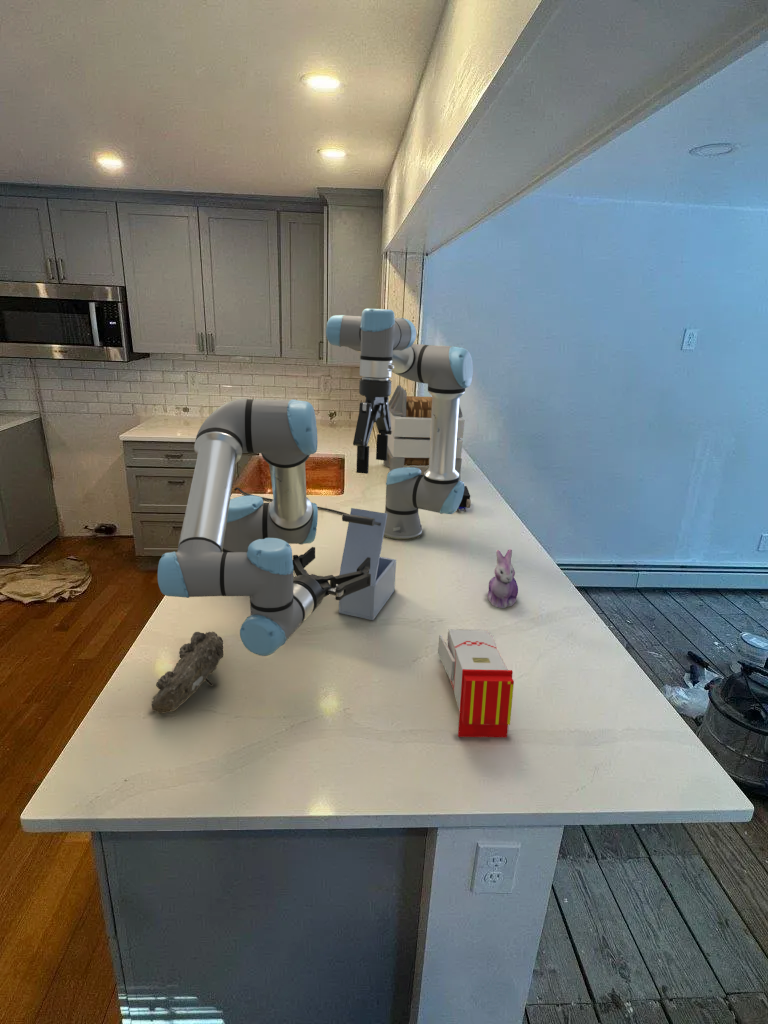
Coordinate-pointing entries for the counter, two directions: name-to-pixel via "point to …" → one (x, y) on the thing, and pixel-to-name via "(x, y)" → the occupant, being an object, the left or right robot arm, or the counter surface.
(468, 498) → the figurine character
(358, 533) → the door
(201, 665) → the fossil
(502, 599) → the figurine
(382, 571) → the chest
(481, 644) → the toy
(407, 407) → the light grey slatted box
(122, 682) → the counter surface
